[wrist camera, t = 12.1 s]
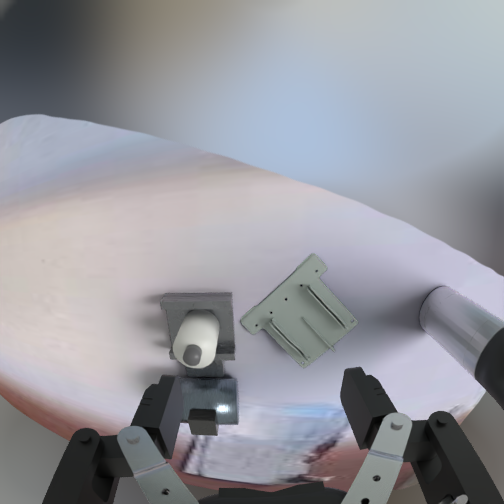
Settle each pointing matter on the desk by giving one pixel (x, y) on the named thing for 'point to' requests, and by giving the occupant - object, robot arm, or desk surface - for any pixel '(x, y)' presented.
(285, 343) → the metal bracket
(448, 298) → the robot arm
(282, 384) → the desk surface
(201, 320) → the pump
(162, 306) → the motor
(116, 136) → the desk surface
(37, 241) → the desk surface
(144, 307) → the desk surface
